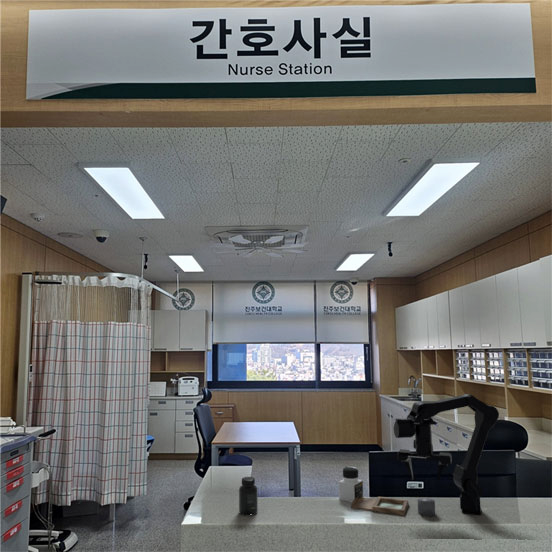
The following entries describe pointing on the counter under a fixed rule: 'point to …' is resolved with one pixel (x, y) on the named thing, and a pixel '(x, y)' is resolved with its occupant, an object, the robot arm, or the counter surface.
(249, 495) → the supplement bottle
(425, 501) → the cap
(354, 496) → the medicine bottle
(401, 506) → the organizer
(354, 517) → the counter surface
